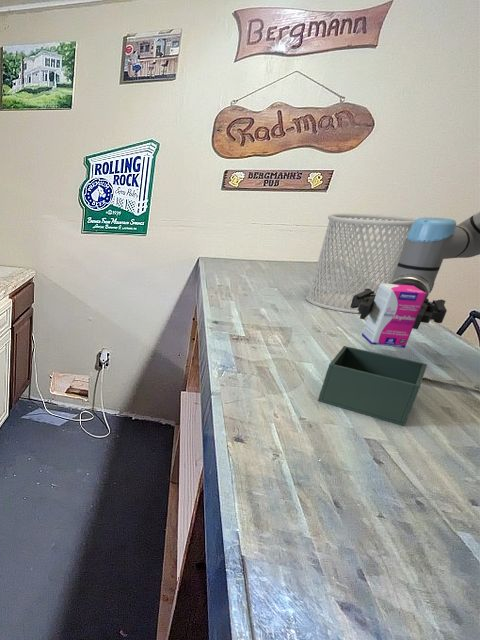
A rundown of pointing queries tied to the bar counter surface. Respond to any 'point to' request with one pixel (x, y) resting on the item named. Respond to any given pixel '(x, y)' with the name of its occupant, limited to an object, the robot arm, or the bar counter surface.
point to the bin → (372, 384)
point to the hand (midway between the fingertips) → (390, 317)
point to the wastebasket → (342, 299)
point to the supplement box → (393, 314)
